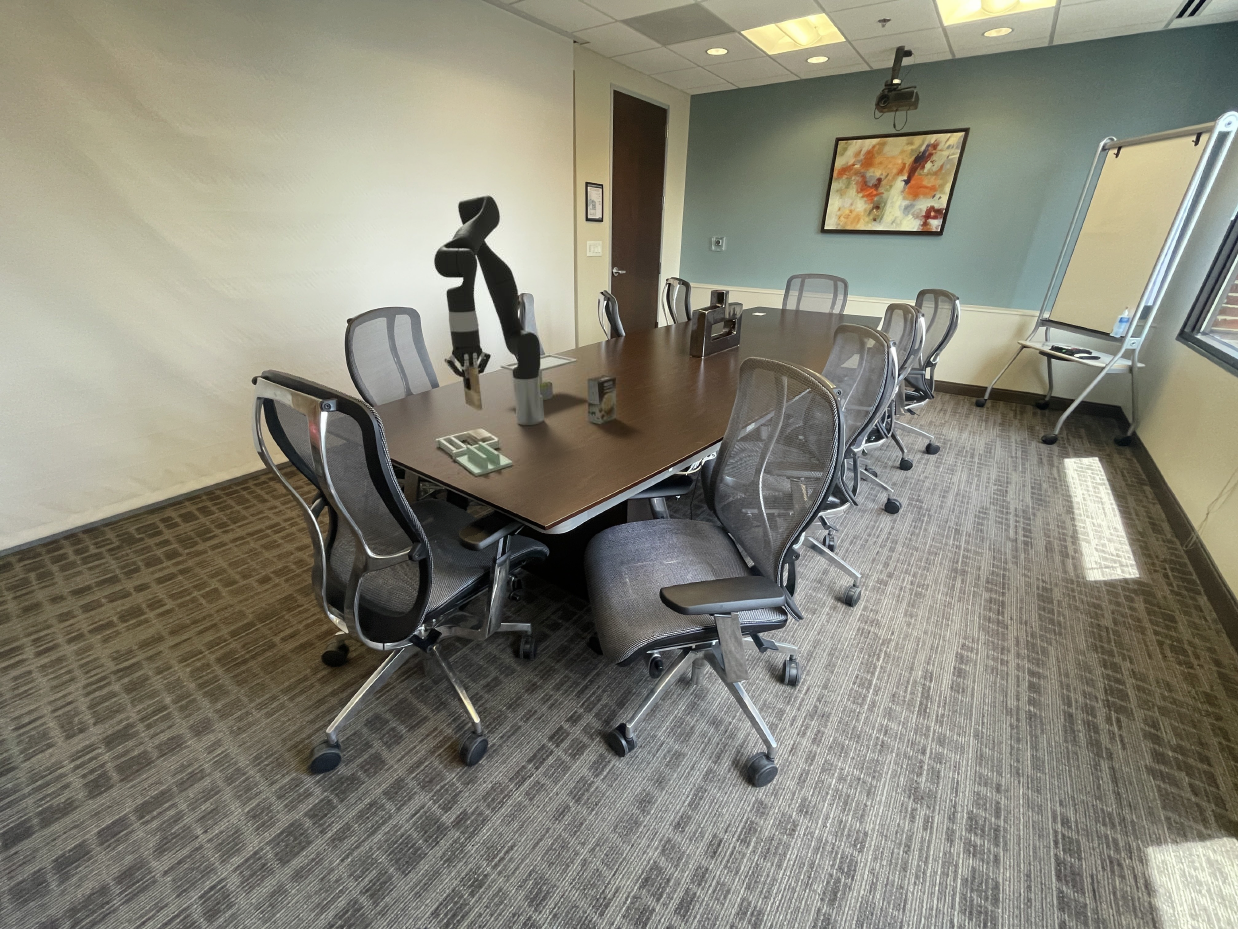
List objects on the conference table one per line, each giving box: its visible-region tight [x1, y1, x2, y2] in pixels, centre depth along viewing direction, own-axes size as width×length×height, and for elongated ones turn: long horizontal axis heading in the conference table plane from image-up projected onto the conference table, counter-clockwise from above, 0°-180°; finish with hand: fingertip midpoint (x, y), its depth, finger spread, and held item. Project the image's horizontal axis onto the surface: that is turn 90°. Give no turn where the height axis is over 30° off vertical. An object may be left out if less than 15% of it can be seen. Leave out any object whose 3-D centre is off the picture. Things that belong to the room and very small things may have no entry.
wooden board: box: [462, 365, 483, 411], centre depth 143 cm, size 2×8×12 cm, turn 39°
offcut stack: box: [466, 428, 492, 446], centre depth 166 cm, size 5×9×4 cm, turn 40°
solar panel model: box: [500, 353, 578, 401], centre depth 211 cm, size 28×17×15 cm, turn 141°
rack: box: [435, 428, 500, 461], centre depth 164 cm, size 16×14×2 cm
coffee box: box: [587, 374, 617, 425], centre depth 185 cm, size 9×6×16 cm
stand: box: [455, 442, 514, 477], centre depth 152 cm, size 12×14×4 cm
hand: (471, 389), depth 143 cm, fingers closed on wooden board, 1 cm apart
